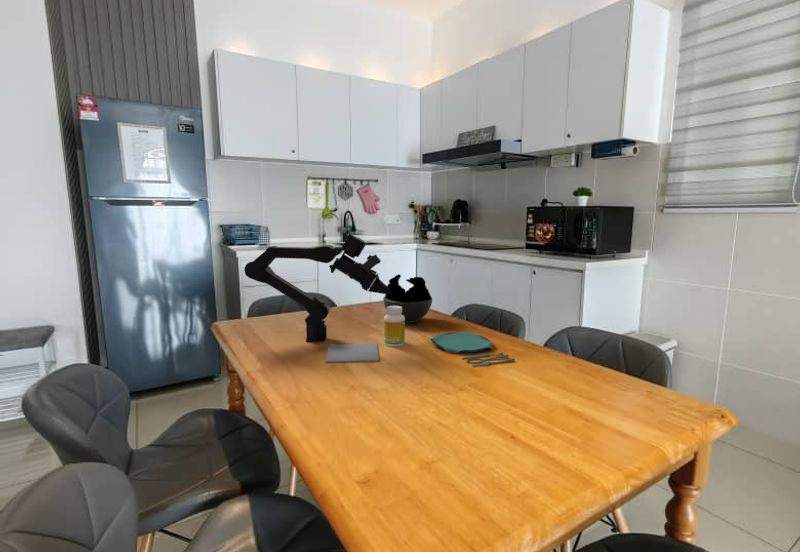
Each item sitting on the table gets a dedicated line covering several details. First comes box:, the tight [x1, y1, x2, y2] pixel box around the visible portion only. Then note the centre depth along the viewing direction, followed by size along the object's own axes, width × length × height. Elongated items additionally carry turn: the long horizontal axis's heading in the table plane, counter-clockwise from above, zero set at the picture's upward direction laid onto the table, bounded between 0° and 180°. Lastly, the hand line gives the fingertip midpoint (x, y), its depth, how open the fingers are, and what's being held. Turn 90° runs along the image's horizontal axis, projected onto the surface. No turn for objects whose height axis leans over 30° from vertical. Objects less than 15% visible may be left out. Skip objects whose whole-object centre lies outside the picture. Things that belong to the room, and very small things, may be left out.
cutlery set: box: [430, 331, 515, 368], centre depth 139 cm, size 20×30×2 cm, turn 20°
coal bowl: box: [382, 274, 433, 323], centre depth 173 cm, size 20×20×19 cm
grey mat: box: [324, 343, 380, 364], centre depth 135 cm, size 16×16×1 cm
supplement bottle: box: [383, 306, 406, 348], centre depth 144 cm, size 7×7×13 cm
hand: (390, 292), depth 147 cm, fingers open, 9 cm apart
